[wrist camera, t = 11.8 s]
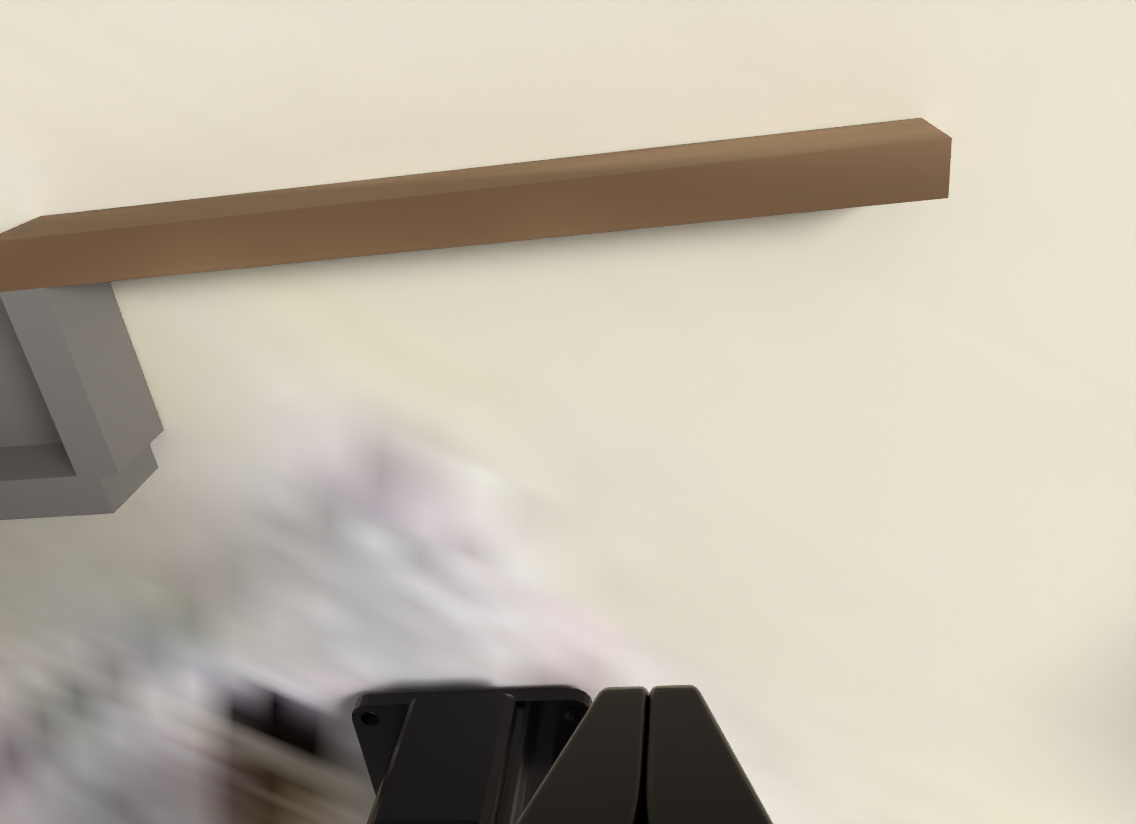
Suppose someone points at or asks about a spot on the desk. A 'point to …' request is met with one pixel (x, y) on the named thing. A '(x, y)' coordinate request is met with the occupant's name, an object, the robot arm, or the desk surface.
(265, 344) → the desk surface
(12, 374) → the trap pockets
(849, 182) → the lane walls
